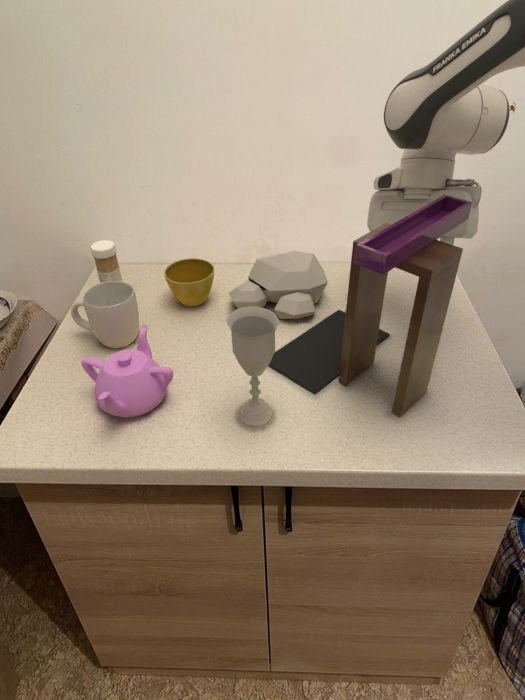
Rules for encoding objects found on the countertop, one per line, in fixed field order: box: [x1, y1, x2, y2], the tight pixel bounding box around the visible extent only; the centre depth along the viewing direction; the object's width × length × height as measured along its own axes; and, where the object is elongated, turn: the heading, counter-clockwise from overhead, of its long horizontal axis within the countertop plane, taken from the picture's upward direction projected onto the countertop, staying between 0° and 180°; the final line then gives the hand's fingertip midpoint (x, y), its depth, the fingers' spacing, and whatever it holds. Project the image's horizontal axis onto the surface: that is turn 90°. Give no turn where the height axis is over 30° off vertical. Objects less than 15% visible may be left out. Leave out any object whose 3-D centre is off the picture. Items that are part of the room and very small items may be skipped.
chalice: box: [226, 307, 280, 427], centre depth 74 cm, size 7×7×18 cm
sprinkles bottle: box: [90, 239, 124, 283], centre depth 101 cm, size 5×5×14 cm
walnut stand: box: [338, 223, 464, 418], centre depth 76 cm, size 8×12×26 cm, turn 46°
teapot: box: [80, 323, 174, 419], centre depth 80 cm, size 12×14×9 cm
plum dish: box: [354, 195, 472, 275], centre depth 68 cm, size 22×4×3 cm, turn 136°
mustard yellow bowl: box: [163, 257, 215, 308], centre depth 103 cm, size 10×10×7 cm
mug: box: [70, 281, 140, 349], centre depth 93 cm, size 13×9×10 cm
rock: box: [228, 250, 329, 320], centre depth 102 cm, size 18×20×10 cm
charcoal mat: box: [268, 309, 391, 395], centre depth 92 cm, size 22×12×1 cm, turn 136°
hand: (413, 262), depth 89 cm, fingers open, 8 cm apart
